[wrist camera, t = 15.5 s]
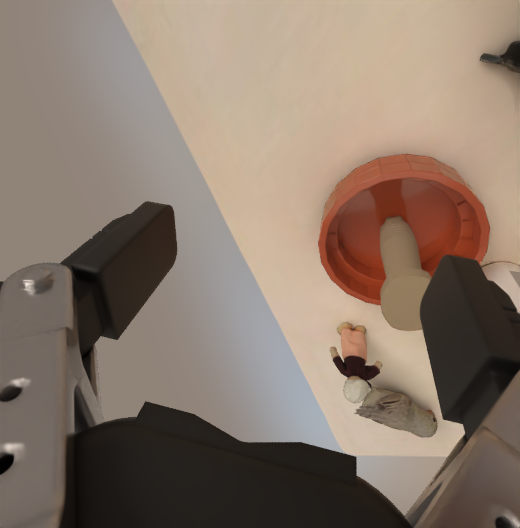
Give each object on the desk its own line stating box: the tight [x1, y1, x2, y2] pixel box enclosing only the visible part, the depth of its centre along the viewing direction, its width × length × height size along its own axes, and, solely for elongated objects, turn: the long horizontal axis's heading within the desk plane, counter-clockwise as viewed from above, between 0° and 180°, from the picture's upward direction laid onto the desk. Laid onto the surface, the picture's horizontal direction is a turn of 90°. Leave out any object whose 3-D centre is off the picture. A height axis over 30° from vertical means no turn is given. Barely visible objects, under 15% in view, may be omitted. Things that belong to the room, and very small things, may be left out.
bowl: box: [318, 154, 490, 305], centre depth 40 cm, size 18×18×6 cm
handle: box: [380, 215, 432, 331], centre depth 36 cm, size 5×6×15 cm
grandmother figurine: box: [330, 323, 382, 403], centre depth 49 cm, size 8×4×13 cm, turn 93°
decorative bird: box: [354, 380, 437, 437], centre depth 58 cm, size 5×16×8 cm, turn 66°
